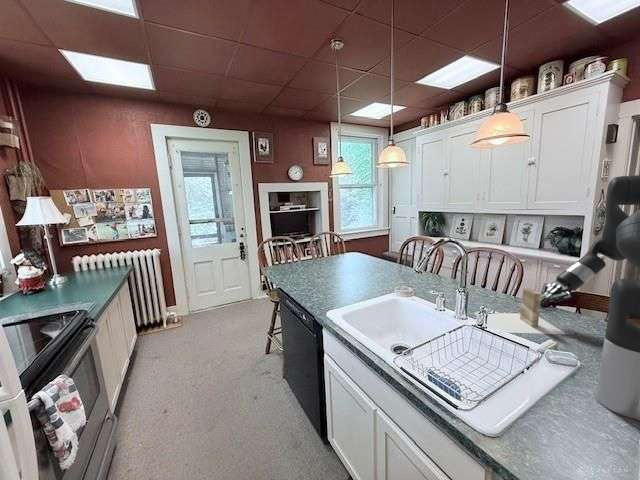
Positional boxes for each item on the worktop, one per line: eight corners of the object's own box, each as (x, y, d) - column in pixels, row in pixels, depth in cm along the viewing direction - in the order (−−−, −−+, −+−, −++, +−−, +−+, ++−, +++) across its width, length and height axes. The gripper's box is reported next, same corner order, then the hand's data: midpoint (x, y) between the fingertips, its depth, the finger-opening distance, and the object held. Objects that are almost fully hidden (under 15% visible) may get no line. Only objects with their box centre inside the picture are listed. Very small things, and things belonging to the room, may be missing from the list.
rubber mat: (533, 315, 119) (533, 313, 119) (566, 335, 102) (566, 334, 102) (473, 313, 122) (473, 312, 122) (495, 333, 104) (495, 332, 104)
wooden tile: (526, 319, 115) (530, 288, 112) (538, 326, 108) (542, 294, 106) (520, 318, 115) (523, 288, 113) (531, 326, 108) (534, 293, 106)
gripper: (555, 265, 113) (522, 292, 116) (583, 274, 100) (544, 304, 103) (567, 278, 113) (533, 304, 116) (596, 288, 100) (557, 317, 103)
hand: (538, 304), depth 110 cm, fingers closed
